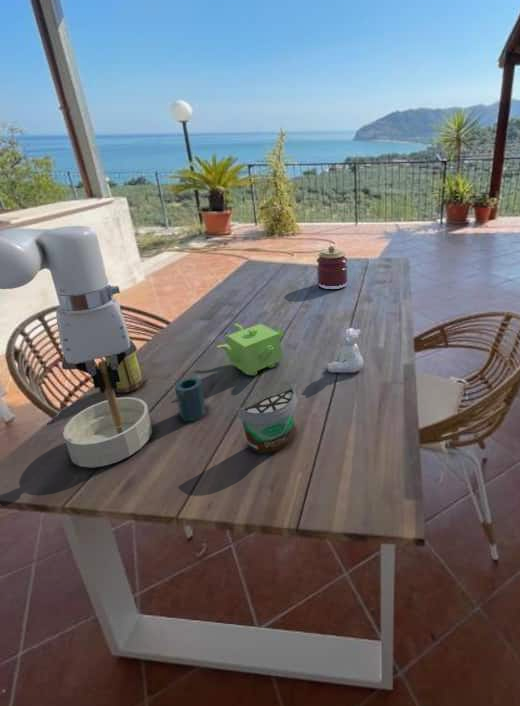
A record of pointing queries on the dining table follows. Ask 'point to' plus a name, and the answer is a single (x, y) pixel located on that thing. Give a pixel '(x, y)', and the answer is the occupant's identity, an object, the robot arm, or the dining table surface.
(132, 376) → the sauce bottle
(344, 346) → the sitting furry creature
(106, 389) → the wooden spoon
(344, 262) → the kitchen canister
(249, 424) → the food container
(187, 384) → the crock
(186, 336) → the dining table surface
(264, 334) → the kettle
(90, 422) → the bowl
